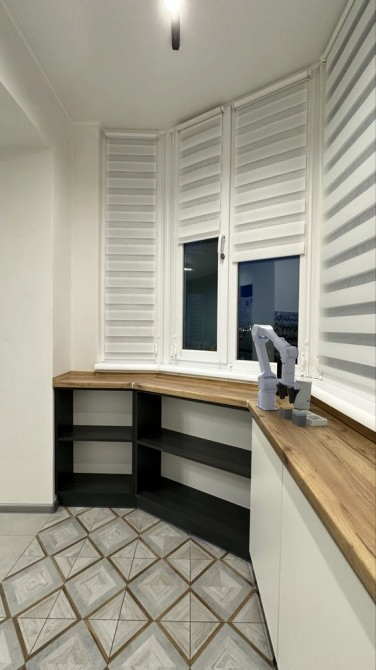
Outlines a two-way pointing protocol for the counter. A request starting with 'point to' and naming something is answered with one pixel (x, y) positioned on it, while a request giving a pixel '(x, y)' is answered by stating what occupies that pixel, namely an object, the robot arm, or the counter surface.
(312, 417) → the rack
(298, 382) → the skincare box
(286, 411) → the ochre plug
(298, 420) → the blue plug
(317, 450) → the counter surface
